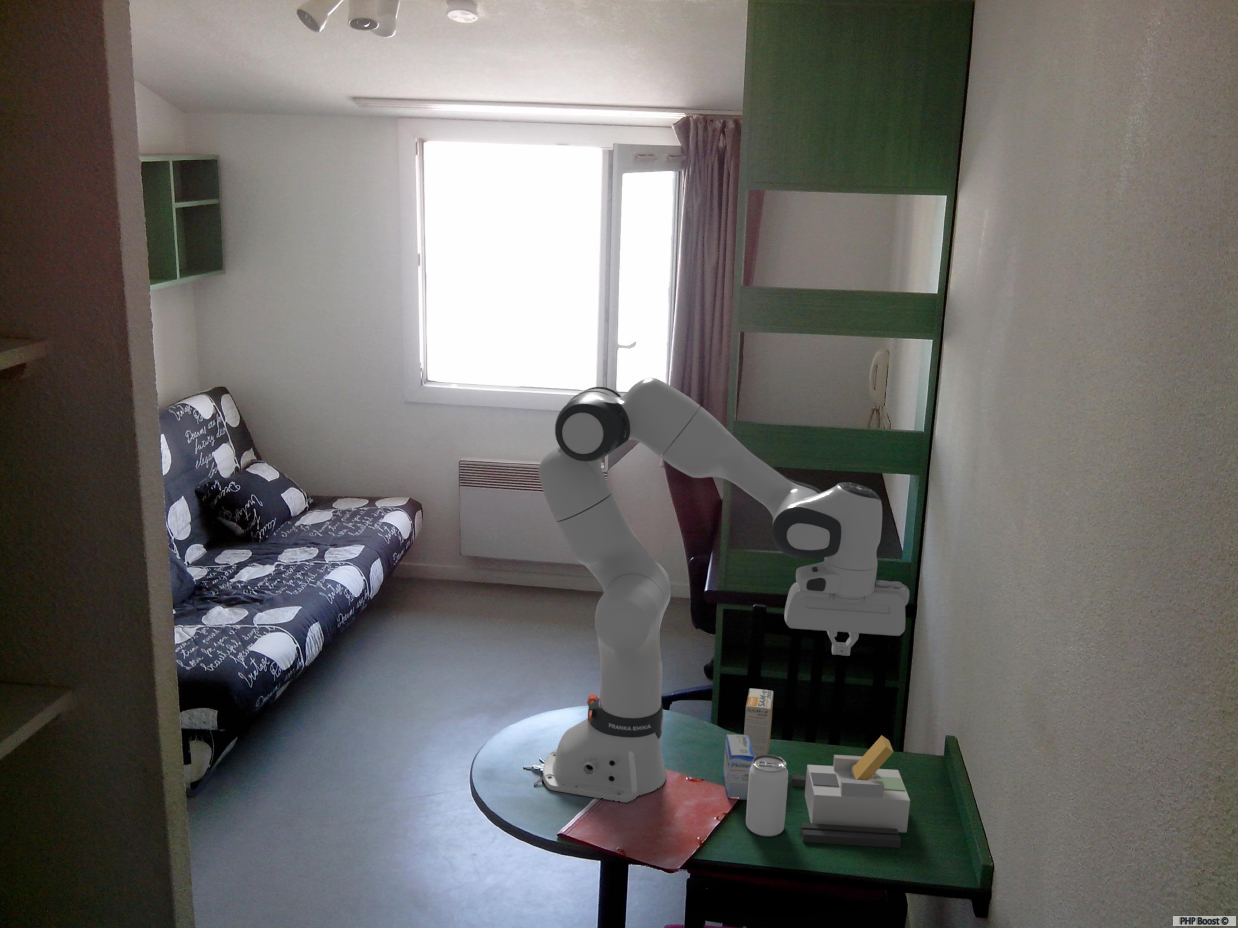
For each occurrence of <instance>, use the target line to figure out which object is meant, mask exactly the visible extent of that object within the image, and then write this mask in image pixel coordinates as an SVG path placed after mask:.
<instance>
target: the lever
mask: <svg viewBox="0 0 1238 928" xmlns="http://www.w3.org/2000/svg"><path fill="white" fill-rule="evenodd" d="M893 753H894V750H893V747H892V744H891V742H890V740H889V739H887V738H886V737H885V736H883V735H880V737H879V738H878V739H877V740H876V741H875V742H874V744H872V746H871V747H870V748H869V749H868V750H867V751H866V752H865V753H864V755H863V757H862V758H861V759H860V760H859V761H858V762H857V764H855V765H852V766H851V772H852V776H853V779H854V780H867V781H868V780H869V779H870V778H871V777H872V775H873V774H874V773H875V772H876V771H877V770H878V769H881V766H882V765H883V764H885V762H886V761H887V760H888V759H889V758H890V757H891V756H892V754H893Z"/></svg>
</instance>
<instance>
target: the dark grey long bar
mask: <svg viewBox="0 0 1238 928" xmlns="http://www.w3.org/2000/svg"><path fill="white" fill-rule="evenodd" d="M790 784H791V786H792V787H801V788H803V787H804V788H805V785H806V775H798V774H797V775H796V774H792V775H791V778H790Z"/></svg>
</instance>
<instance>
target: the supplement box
mask: <svg viewBox="0 0 1238 928" xmlns="http://www.w3.org/2000/svg"><path fill="white" fill-rule="evenodd" d="M773 702H774V691H773V690H770V689H769V690H768V689H761V688H749V689H748V694H747V700H746V705H745V715H744V729H743V735H748V736H749V737H750V741H751V745H752V749H753V753H754V757H757V756H759V755H769V750H770V742H771V733H772V732H771V731H772V720H773V708H774V707H773V704H774V703H773Z"/></svg>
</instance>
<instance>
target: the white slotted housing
mask: <svg viewBox="0 0 1238 928" xmlns="http://www.w3.org/2000/svg"><path fill="white" fill-rule="evenodd" d="M863 756H864V755H863ZM863 756H861V755H860V756H859V755H846V754H845V755H843V754H833V765H820V764H807V765H806V775H805V776H806V785H805V787H804V797H805V804H806V807H807V813H808V816H809V821H810V822H809V823H813V824H829V825H845V826H861V827H877V828H893V829H897V830H898V833H907V832H908V824H909V823H908V822H909V817H910V816H909V815H910V807H911V799H910V797H909V794H908V791H907V789H906V786H905V784H904V782H903V779H902V776H901V773H900V771H899V770H898V769H888V768H887V769H885V768H879V769H878V770H877V771H876V772H875V773H874V774H873V775H872V777H871V778H870V779H869V780H868V781H867V780H854V779H853V776H852V772H851V766H852V765H855V764H857V762H858V761H859V760H860V759H861V758H862V757H863Z"/></svg>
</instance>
